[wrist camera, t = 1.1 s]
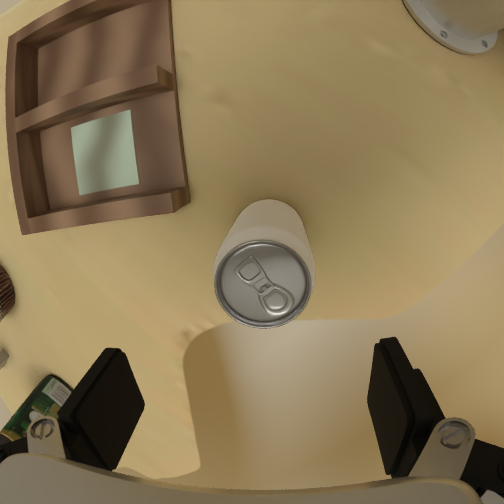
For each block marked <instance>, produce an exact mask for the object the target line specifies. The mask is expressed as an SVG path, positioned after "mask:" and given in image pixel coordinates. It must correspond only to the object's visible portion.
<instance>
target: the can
mask: <svg viewBox="0 0 504 504" xmlns="http://www.w3.org/2000/svg"><path fill="white" fill-rule="evenodd" d="M315 276H316V271H315V264H314V259H313V255H312V252H311V248H310V245H309V241H308V238H307V235H306V232H305V229H304V226H303V223H302V221H301V218H300V217H299V215H298V214H297V212H296V211H295V210H294V209H293V208H292V207H290V206H289V205H287V204H286V203H284V202H281V201H278V200H273V199H265V200H259V201H256V202H254V203H252V204H250V205H249V206H247V207H246V208H245V209H244V210H243V211H242V212H241V213H240V215H239V216H238V218H237V219H236V221H235V222H234V224H233V226H232V227H231V229H230V231H229V233H228V234H227V236H226V238H225V240H224V241H223V243H222V245H221V247H220V249H219V251H218V253H217V255H216V258H215V261H214V266H213V280H214V287H215V293H216V296H217V299H218V301H219V303H220V305H221V307H222V308H223V309H224V311H225V312H226V313H227V314H228V315H229V316H230V317H232V318H233V319H234V320H236V321H238V322H239V323H241V324H244V325H247V326H249V327H253V328H261V329H267V328H274V327H279V326H282V325H284V324H286V323H288V322H290V321H292V320H293V319H295V318H296V317H297V316H298V315H299V314H300V313H301V312H302V311H303V310H304V308H305V307H306V305H307V303H308V301H309V298H310V295H311V293H312V291H313V288H314V284H315Z"/></svg>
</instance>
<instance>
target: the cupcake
mask: <svg viewBox="0 0 504 504" xmlns="http://www.w3.org/2000/svg"><path fill="white" fill-rule="evenodd" d="M14 303H15V292H14V287H13V285H12V281H11V279H10V278H9V275H8V274H7V273H6V272H5V271H4V269H3V268H2V266H1V265H0V322H1V320H2V319H3V318H4V317H5V315H6V314H7V313H8V312H9V311H10V309H11V308H12V307H13V306H14Z"/></svg>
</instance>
